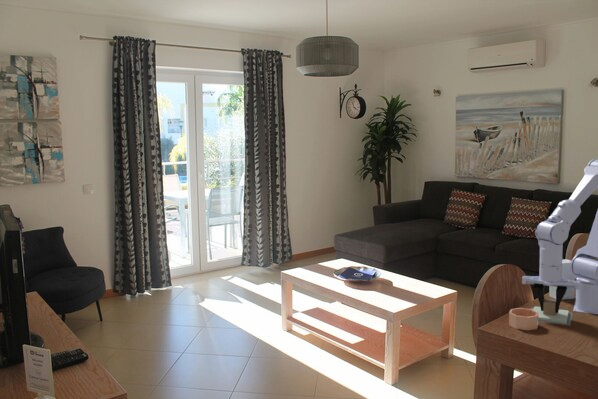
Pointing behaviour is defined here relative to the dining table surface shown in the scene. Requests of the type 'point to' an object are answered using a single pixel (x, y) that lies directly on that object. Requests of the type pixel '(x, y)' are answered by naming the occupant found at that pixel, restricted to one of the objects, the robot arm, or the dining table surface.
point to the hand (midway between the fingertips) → (549, 310)
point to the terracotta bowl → (523, 319)
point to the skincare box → (565, 275)
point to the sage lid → (551, 312)
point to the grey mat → (560, 323)
